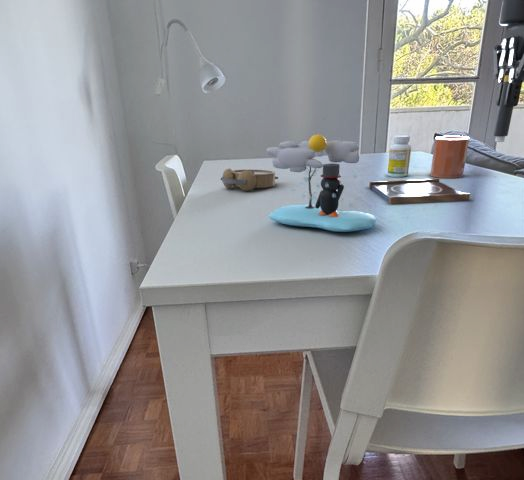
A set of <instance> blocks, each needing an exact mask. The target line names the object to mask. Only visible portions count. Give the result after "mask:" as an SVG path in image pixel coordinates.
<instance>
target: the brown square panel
mask: <svg viewBox="0 0 524 480" xmlns="http://www.w3.org/2000/svg"><path fill="white" fill-rule="evenodd" d="M440 179H441V178H424V179H423V178H422V179H402V180H400V179H399V180H381V181H369V185H368V188H369V189H371V190H372V191H374V192H375V193H376V194H378V195H379V196H380V197H381V198H383V199H384V200H385V201H387V202H388V204H389V205H402V204H423V203H426V204H427V203H444V202H447V203H448V202H466V201H468V202H469V201H470V197H471V193H470V192H461V191H459V190H457V189H456V188H454V187H451V186H449V185H446V184H445V183H443V182H441V181H440Z"/></svg>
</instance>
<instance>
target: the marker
mask: <svg viewBox="0 0 524 480" xmlns="http://www.w3.org/2000/svg"><path fill="white" fill-rule="evenodd" d="M509 76H510V75H505V77H504V84H503V89H502V94H501V100H500V105H499V106H498V111H497V116H496V120H495V121H496V123H495V127H494V132H493V137H495V138H494V141H495V143H504V142H505V140H506V137H508V135H509V130H510V125H511V121H512V117H513V112H514V107H506V106H505V105H504V103H505V97H506V92H507V87H508V83H509Z"/></svg>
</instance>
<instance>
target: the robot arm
mask: <svg viewBox="0 0 524 480" xmlns="http://www.w3.org/2000/svg"><path fill="white" fill-rule="evenodd" d="M498 23H499V25H500V26H502V27H505V28H506V29H505V31H504V34H503V37H502V42H501V43H500V44H495V45H494V46H493V49H492V52H493V54H492V55H493V78H494V80H497V82H498V84H499V87H498V91H497V97H496V102H495V104H496V106H497V107H499V105H500V100H501V94H502V89H503V84H504V77H505V75H510V76H509V83H508V87H507V92H506V97H505V103H504V105H505V106H506V107H513V108H514V107H517V106H518V105H519V102H520V95H521V91H522V86H523V83H524V0H502V3H501V9H500V14H499V21H498Z"/></svg>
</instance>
